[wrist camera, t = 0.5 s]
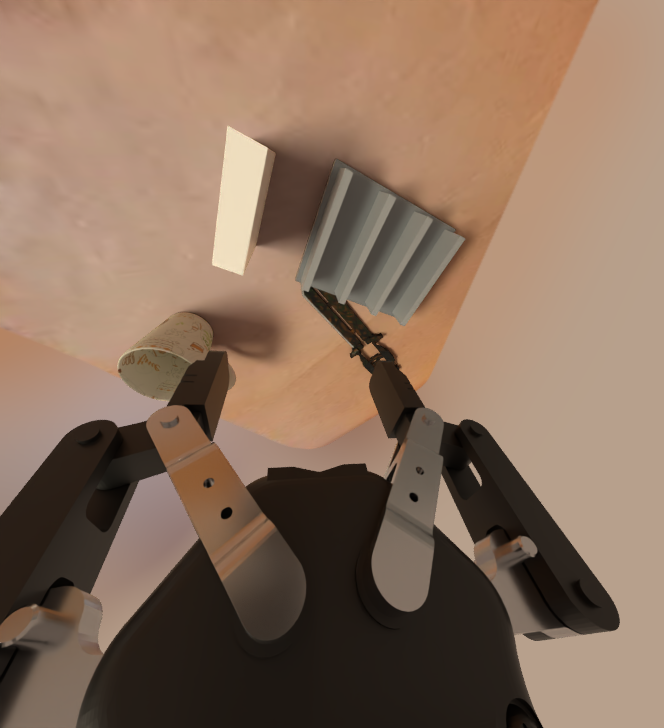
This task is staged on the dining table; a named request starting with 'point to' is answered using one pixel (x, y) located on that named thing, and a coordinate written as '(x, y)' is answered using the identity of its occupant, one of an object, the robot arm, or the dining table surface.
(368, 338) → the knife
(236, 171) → the cream rectangular block
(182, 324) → the mug
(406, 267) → the dish rack
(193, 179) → the dining table surface
